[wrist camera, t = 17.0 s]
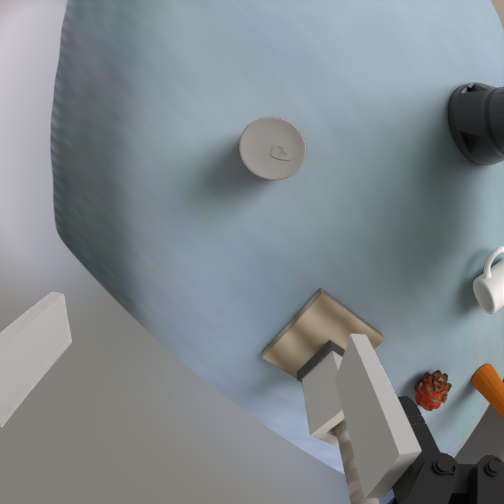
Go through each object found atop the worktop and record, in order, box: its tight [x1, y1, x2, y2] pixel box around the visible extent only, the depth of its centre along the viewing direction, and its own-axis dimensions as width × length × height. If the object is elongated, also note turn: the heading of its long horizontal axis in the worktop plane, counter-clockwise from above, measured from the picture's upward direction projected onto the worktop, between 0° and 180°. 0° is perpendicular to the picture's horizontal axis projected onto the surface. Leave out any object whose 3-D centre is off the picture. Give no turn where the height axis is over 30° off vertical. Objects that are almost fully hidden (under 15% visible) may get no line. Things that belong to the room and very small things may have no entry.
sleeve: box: [302, 351, 345, 447], centre depth 40 cm, size 7×7×12 cm
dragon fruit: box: [415, 370, 452, 411], centre depth 55 cm, size 8×8×12 cm
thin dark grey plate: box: [296, 340, 345, 382], centre depth 47 cm, size 8×8×2 cm
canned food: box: [239, 117, 306, 180], centre depth 40 cm, size 8×8×11 cm
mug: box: [473, 246, 504, 314], centre depth 46 cm, size 12×10×8 cm
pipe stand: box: [262, 288, 384, 504], centre depth 39 cm, size 16×16×34 cm
